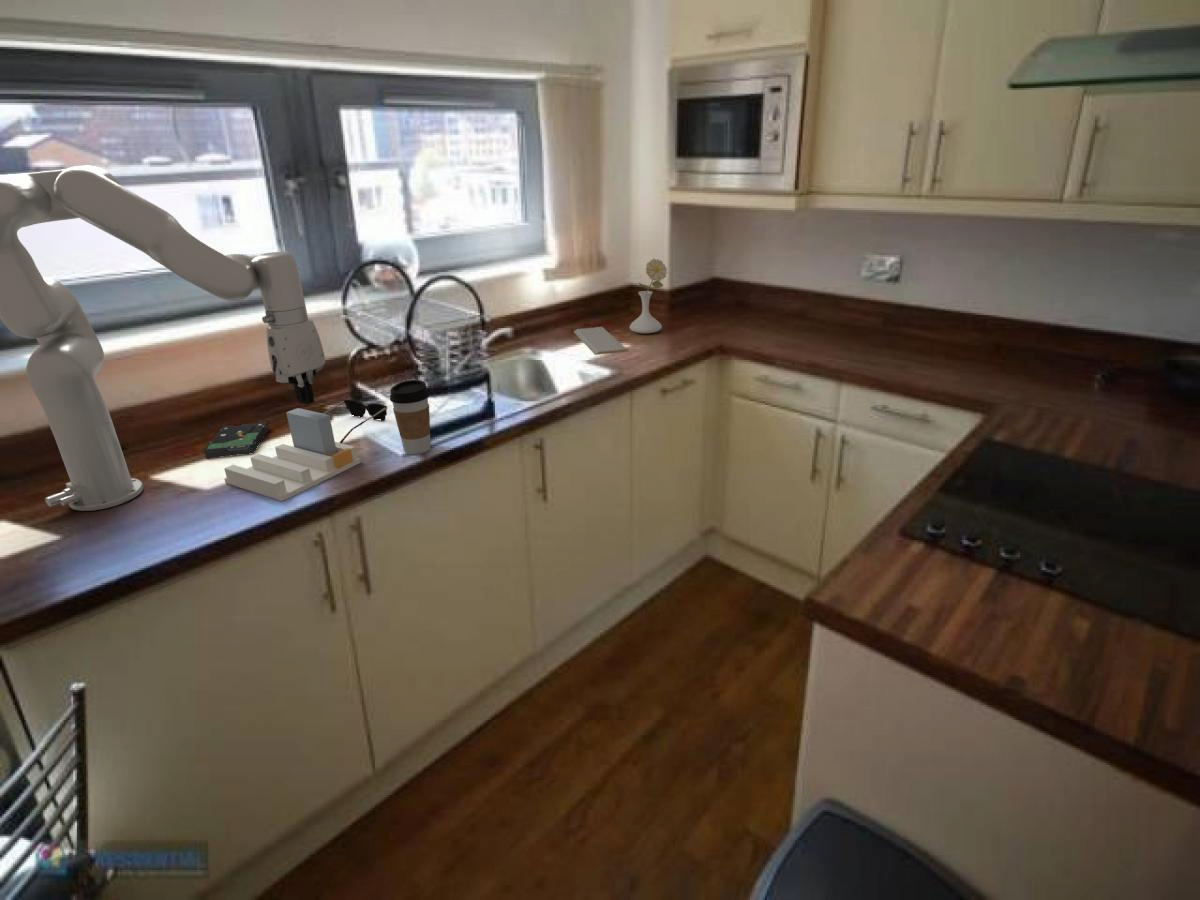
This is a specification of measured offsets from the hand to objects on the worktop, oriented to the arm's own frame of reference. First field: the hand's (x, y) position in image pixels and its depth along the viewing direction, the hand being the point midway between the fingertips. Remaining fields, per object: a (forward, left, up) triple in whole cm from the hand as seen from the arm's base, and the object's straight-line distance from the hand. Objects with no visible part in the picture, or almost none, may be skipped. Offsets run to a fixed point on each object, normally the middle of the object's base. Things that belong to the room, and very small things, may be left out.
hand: (306, 402), depth 149 cm
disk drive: (-1, +26, -14) cm, 30 cm away
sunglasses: (+16, +10, -14) cm, 24 cm away
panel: (0, 0, -12) cm, 12 cm away
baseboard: (+111, -6, -15) cm, 112 cm away
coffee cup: (+15, -15, -14) cm, 25 cm away
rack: (-6, 0, -14) cm, 15 cm away
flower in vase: (+129, -16, -14) cm, 131 cm away
